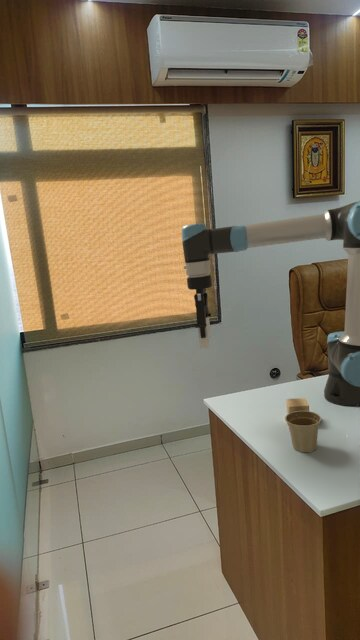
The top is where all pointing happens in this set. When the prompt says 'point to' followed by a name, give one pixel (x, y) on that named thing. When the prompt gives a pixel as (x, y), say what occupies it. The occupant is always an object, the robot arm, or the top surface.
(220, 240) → the robot arm
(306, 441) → the flower pot
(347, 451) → the top surface
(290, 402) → the tan cube
